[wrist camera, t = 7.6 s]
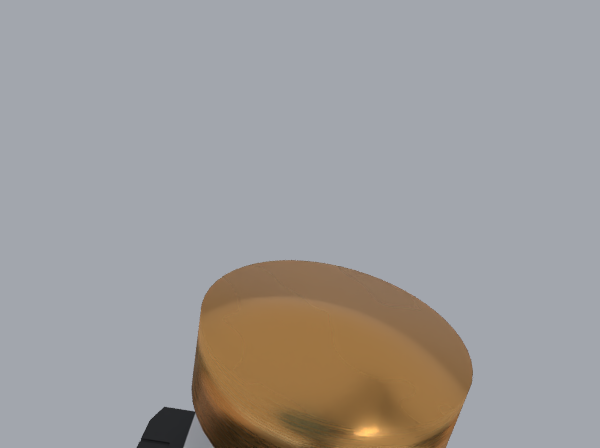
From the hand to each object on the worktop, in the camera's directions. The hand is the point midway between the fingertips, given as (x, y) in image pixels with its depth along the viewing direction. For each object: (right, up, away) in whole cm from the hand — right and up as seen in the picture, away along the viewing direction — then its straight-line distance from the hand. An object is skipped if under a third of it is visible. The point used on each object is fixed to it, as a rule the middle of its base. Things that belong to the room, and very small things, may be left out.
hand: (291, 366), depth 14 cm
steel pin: (-1, -9, -3) cm, 9 cm away
